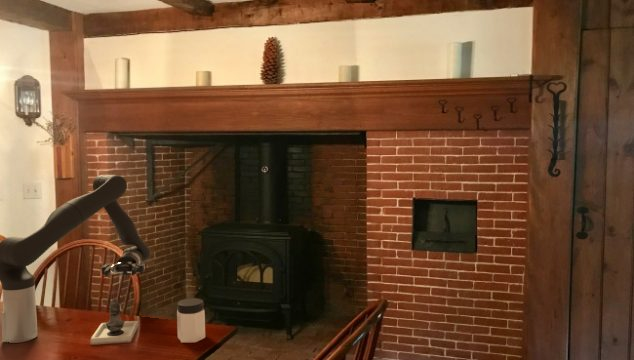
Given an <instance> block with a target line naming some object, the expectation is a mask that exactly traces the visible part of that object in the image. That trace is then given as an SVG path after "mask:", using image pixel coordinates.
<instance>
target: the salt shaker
mask: <svg viewBox="0 0 634 360" xmlns="http://www.w3.org/2000/svg"><path fill="white" fill-rule="evenodd" d="M108 313H109V317H110V318H109V321H107V322H105V323H106V326H107V328H108V330H109V332H108V333H107V335H108V336H119V335H122V334H123V333H124V331H123V330H121V329H122V328H123V325H124V323H125V322H126V321H125V320H124V319H121V315H120V314H121V310H120V302H119V300H117V299H116V298H115V297H113V299H112V301H110V302H109V311H108Z"/></svg>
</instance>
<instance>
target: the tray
mask: <svg viewBox="0 0 634 360" xmlns="http://www.w3.org/2000/svg"><path fill="white" fill-rule="evenodd" d="M106 323H107V322H101V323H100V325H99V326H98V327H97V329H96V330H95V332H94V333H93V334H92V336H91V337H90V345H93V346H95V345H108V344H121V343H131V342H132V340H133V338H134V336H135V333H136V332H137V330H138V327H139V321H138V320H130V321H125V323H124V325H123V328H122V329H121V330H123V331H124V333H123V334H122V335H119V336H108V335H107V333H108V332H109V330H108V328H107V326H106Z"/></svg>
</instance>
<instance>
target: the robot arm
mask: <svg viewBox="0 0 634 360" xmlns="http://www.w3.org/2000/svg"><path fill="white" fill-rule="evenodd" d="M127 188H128V182H127V180H126V179H125V178H124V177H123V176H121V175H118V174H101V175H97V176H96V177H95V178H94V179H93V182H92V189H93V191H91V192H89V193H86V194H83V195H80V196H78V197H75V198H72V199H70V200H68V201H65V202H64V203H63V204H62V205H60V206H59V207H57V208H56V209H55V210H53V211H52V212H51V214H49V216H47V217H48V218H47V219H46V222H45V223H44V224H43V226H42V227H40V228H39V229H38V230H37V231H35V232H33V233H32V234H30V235H28V236H26V237H18V236H8V237H6V238H4V239H2V240H1V241H0V283H1V288H2V289H1V291H2V293H1V295H2V306H3V311H2V312H1V313H0V321H1V336H2V337H1V338H2V339H1V340H2V343H8V342H9V343H10V344H17V343H19V344H20V343H25V342H28V341H31V340H33V339H35V338H36V337H38V326H37V325H38V323H37V321H38V320H37V305H36V304H37V303H36V302H37V301H36V281H35V276H34V275H33V274H32V273H31V272H30V271H29V270H28V268H27V267H29V266H30V265H32V264H34V262H36V261H37V260H38V259H39V258H40V257H41V256H42V255H44V254H45V252H47V251H48V250H49V249H50V248H51V247H52V246H53V245H55V244H56V243H58V242H59V241H60V240H62V239H63V238H64V237H65V236H67V235H68V234H69V233H71V232H73V230H75V229H77V228H78V227H80V225H82V224H83V223H84V222H86V221H87V220H89V219H90V218H91V217H93V215H95V214H96V213H98V212H99V211H100V210H102V209H104V211H105V212H106V213H107V215H108V217H109V218H110V220H111V221H112V224H113V226H114V228H115V230H116V232H117V235H118V238H119V239H120V241H121V244H122V245H123V246H130V247H127V248H125V249H124V250H123V251H122V255H121V256H120V257H119V258H118V259H117V261H116V263H114V264H110V263H105V264H104V265H103V266H101V274H102V275H104V276H105V277H109V276H110V275H116V274H120V275H122V276H132V277H133V276H135V275H136V274H138V273H140V274H143V273H144V272H145V270H146V263H145V262H146V261H148V260H149V259H150V257H151V251H150V248H149V247H148V246H149V245H147V244H146V242H144V241H143V239H142V238H141V236H140V235H139V233H138V230H137V227H136V226H135V223H134V221H133V220H132V218H131V216H129V215H128V213H127V212H126V211H125V210H124V209H123V208H122V207H121V205H120V204H119V202H118V200H119V199H120V198H121V197H123V195H124V194H125V193H126V190H127Z"/></svg>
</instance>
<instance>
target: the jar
mask: <svg viewBox="0 0 634 360" xmlns="http://www.w3.org/2000/svg"><path fill="white" fill-rule="evenodd" d="M204 306H205V305H204V300H203V299H201V298H185V299H181V300H179V301H178V302H177V310H176V325H177V326H176V327H177V328H176V329H177V339H178V340H179V341H180V343H197V342H199V341H202V340H203V339H205V338H206V315H205V313H206V312H205V308H204Z"/></svg>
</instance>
